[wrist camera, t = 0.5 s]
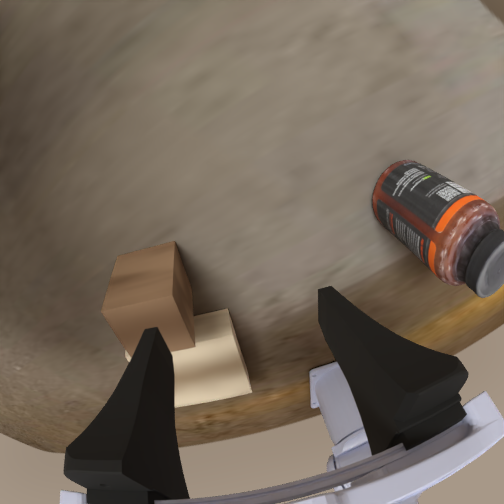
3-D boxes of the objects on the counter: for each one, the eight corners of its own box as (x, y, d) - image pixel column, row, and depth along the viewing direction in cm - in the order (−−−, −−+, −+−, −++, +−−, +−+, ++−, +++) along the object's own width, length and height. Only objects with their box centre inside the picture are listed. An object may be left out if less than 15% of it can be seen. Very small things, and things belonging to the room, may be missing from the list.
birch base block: (247, 369, 30) (252, 392, 28) (164, 385, 30) (165, 408, 27) (227, 308, 25) (232, 334, 23) (128, 330, 25) (124, 356, 22)
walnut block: (192, 289, 24) (195, 347, 19) (139, 301, 24) (132, 359, 19) (174, 240, 21) (172, 295, 16) (117, 255, 21) (101, 311, 16)
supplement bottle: (397, 236, 25) (479, 322, 15) (355, 203, 22) (449, 296, 13) (436, 184, 23) (533, 252, 13) (399, 142, 20) (516, 205, 11)
